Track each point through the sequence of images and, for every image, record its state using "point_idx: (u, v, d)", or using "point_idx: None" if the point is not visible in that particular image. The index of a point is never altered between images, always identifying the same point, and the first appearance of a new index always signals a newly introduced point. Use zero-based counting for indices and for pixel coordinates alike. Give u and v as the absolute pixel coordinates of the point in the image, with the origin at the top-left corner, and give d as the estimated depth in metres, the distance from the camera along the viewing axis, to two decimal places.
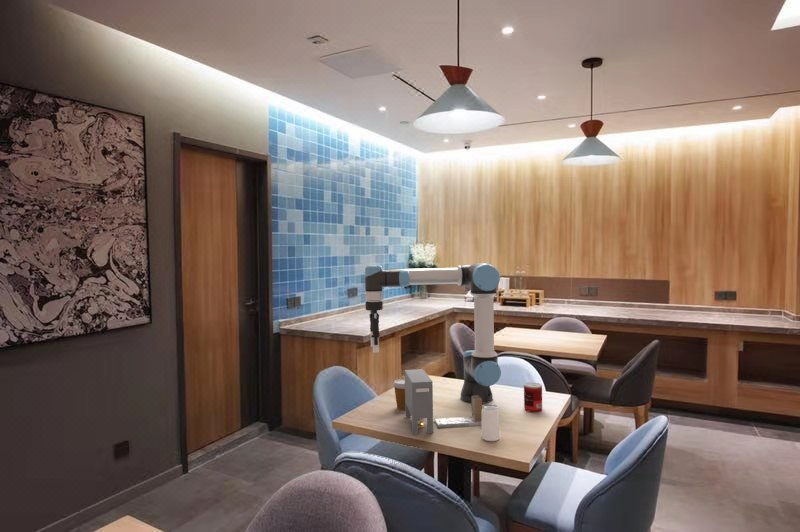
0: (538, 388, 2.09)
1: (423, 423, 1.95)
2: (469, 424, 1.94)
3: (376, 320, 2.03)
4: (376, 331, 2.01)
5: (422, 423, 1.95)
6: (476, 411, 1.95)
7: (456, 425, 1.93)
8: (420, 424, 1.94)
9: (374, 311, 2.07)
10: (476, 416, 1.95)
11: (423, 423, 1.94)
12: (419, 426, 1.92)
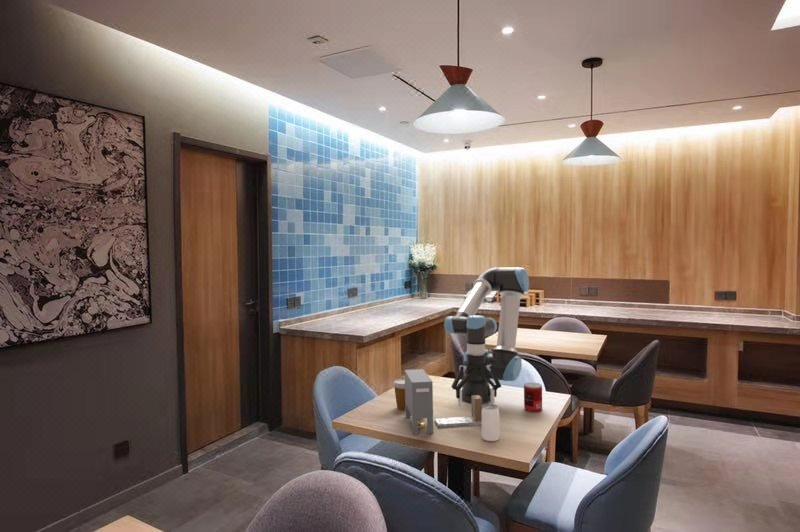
0: (538, 388, 2.09)
1: (423, 423, 1.95)
2: (469, 424, 1.94)
3: (458, 373, 1.96)
4: (453, 383, 1.96)
5: (422, 423, 1.95)
6: (476, 411, 1.95)
7: (456, 425, 1.93)
8: (420, 424, 1.94)
9: (467, 364, 1.97)
10: (476, 416, 1.95)
11: (424, 423, 1.94)
12: (420, 426, 1.92)
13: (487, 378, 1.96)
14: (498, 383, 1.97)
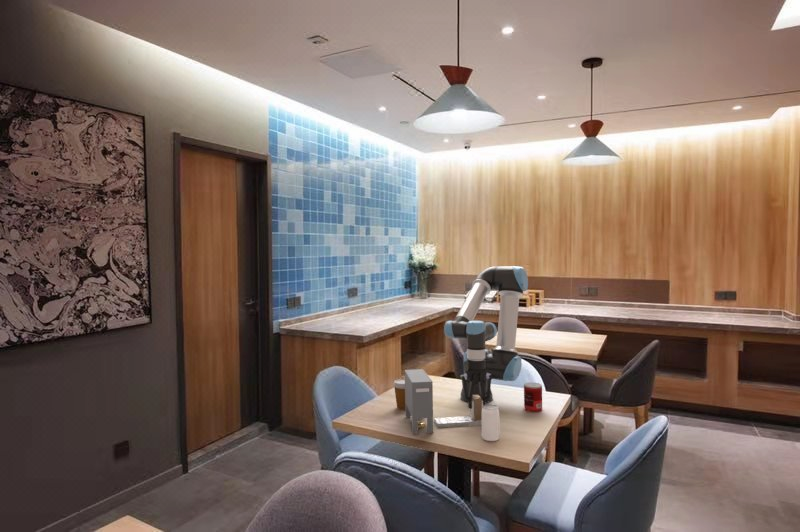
0: (538, 388, 2.09)
1: (423, 422, 1.95)
2: (469, 423, 1.94)
3: (463, 383, 1.96)
4: (464, 394, 1.96)
5: (422, 422, 1.95)
6: (476, 410, 1.95)
7: (456, 424, 1.93)
8: (421, 423, 1.94)
9: (465, 371, 1.97)
10: (476, 415, 1.95)
11: (424, 423, 1.95)
12: (421, 425, 1.92)
13: (482, 386, 1.96)
14: (488, 394, 1.97)
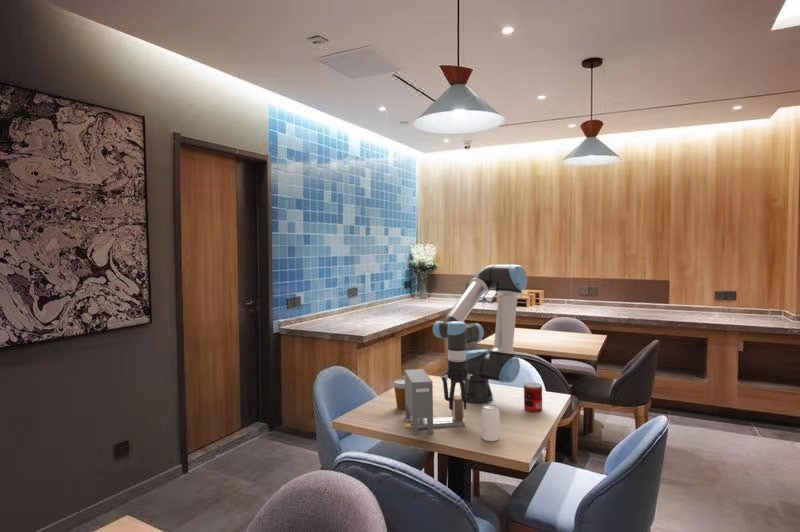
0: (538, 388, 2.09)
1: None
2: (449, 424, 1.93)
3: (443, 384, 1.95)
4: (444, 395, 1.95)
5: None
6: (456, 411, 1.94)
7: (436, 425, 1.92)
8: None
9: None
10: (456, 416, 1.94)
11: None
12: None
13: (463, 387, 1.95)
14: (469, 395, 1.96)
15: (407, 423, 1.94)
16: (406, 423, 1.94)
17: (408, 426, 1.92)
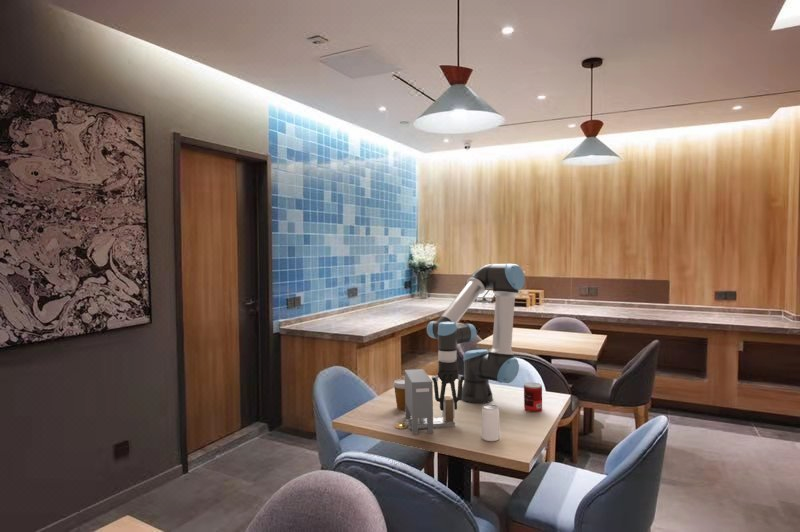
0: (538, 388, 2.09)
1: (404, 423, 1.95)
2: (440, 425, 1.93)
3: (434, 384, 1.95)
4: (435, 396, 1.95)
5: (403, 423, 1.94)
6: (447, 412, 1.94)
7: None
8: (403, 425, 1.93)
9: None
10: (447, 417, 1.94)
11: (405, 424, 1.94)
12: (404, 427, 1.92)
13: (453, 388, 1.95)
14: (460, 395, 1.95)
15: (397, 424, 1.94)
16: (396, 424, 1.94)
17: (399, 427, 1.91)
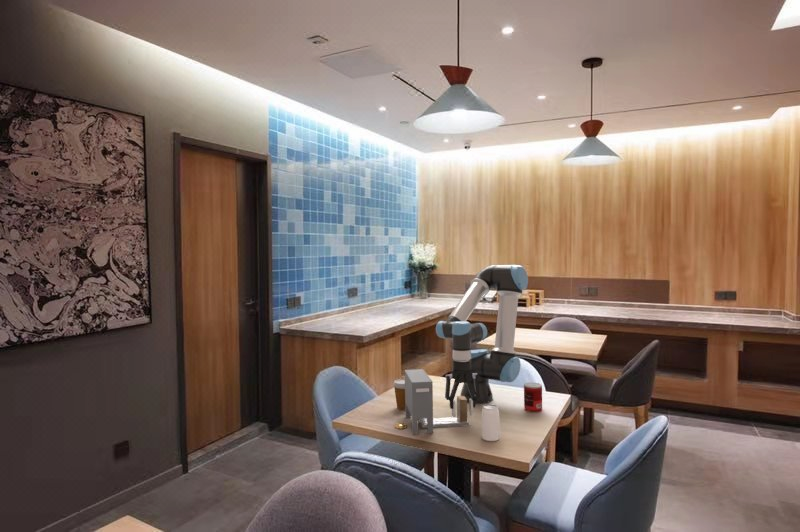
0: (538, 388, 2.09)
1: (404, 423, 1.95)
2: (454, 424, 1.94)
3: (447, 382, 1.95)
4: (446, 394, 1.96)
5: (403, 423, 1.95)
6: (461, 411, 1.95)
7: (441, 425, 1.93)
8: (403, 425, 1.93)
9: None
10: (461, 416, 1.95)
11: (405, 423, 1.94)
12: (404, 427, 1.92)
13: (469, 386, 1.96)
14: (478, 393, 1.96)
15: (397, 424, 1.94)
16: (396, 424, 1.94)
17: (398, 427, 1.91)
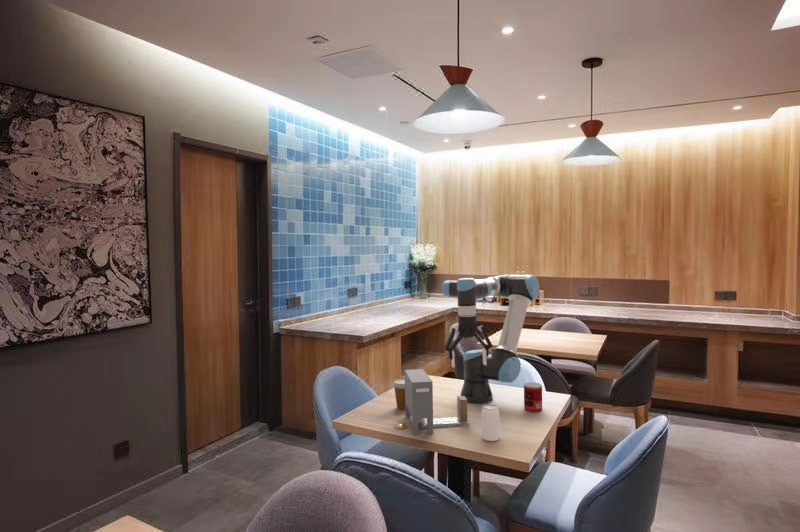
0: (538, 388, 2.09)
1: (403, 423, 1.95)
2: (454, 424, 1.93)
3: (450, 334, 2.00)
4: (446, 345, 2.00)
5: (403, 423, 1.95)
6: (461, 411, 1.95)
7: (441, 425, 1.93)
8: (403, 424, 1.93)
9: None
10: (461, 416, 1.95)
11: (405, 423, 1.95)
12: (404, 426, 1.92)
13: (479, 339, 2.01)
14: (489, 343, 2.01)
15: (397, 424, 1.93)
16: (396, 424, 1.94)
17: (399, 427, 1.91)
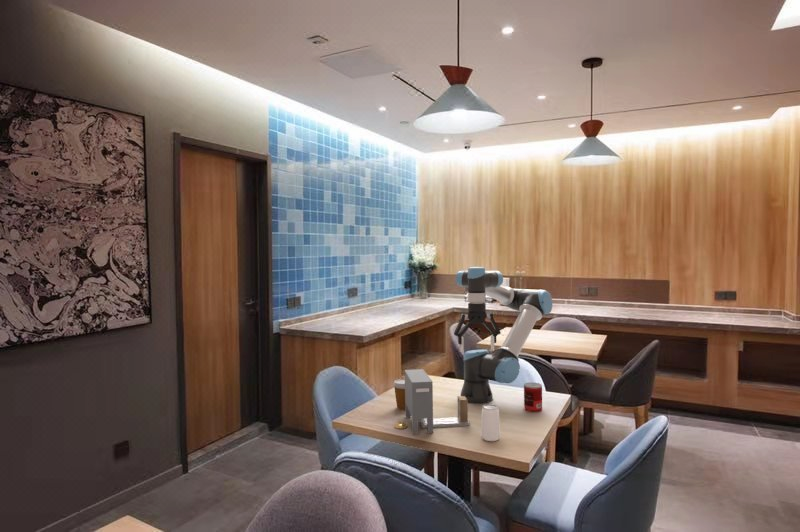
0: (538, 388, 2.09)
1: (403, 422, 1.95)
2: (454, 425, 1.93)
3: (460, 320, 2.08)
4: (455, 330, 2.08)
5: (402, 423, 1.95)
6: (461, 412, 1.94)
7: (441, 426, 1.93)
8: (403, 424, 1.94)
9: (468, 312, 2.09)
10: (461, 417, 1.94)
11: (404, 422, 1.95)
12: (405, 426, 1.92)
13: (487, 325, 2.09)
14: (498, 330, 2.09)
15: (397, 424, 1.93)
16: (396, 425, 1.93)
17: (401, 427, 1.91)
